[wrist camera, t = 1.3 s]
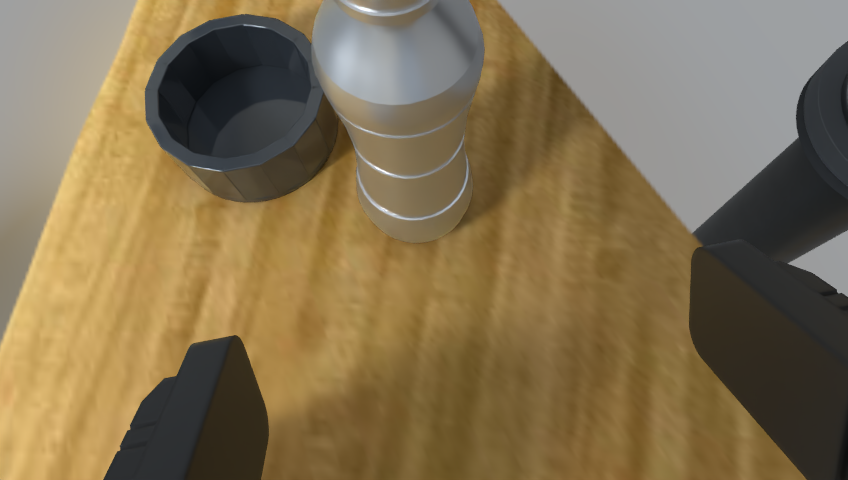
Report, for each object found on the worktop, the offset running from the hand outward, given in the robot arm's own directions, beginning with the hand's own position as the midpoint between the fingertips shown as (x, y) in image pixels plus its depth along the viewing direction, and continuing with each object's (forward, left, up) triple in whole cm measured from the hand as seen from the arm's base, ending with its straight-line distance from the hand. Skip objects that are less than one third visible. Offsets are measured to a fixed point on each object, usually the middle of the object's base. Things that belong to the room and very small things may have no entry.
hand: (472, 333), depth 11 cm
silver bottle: (0, -12, -23) cm, 26 cm away
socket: (+9, -19, -22) cm, 31 cm away
